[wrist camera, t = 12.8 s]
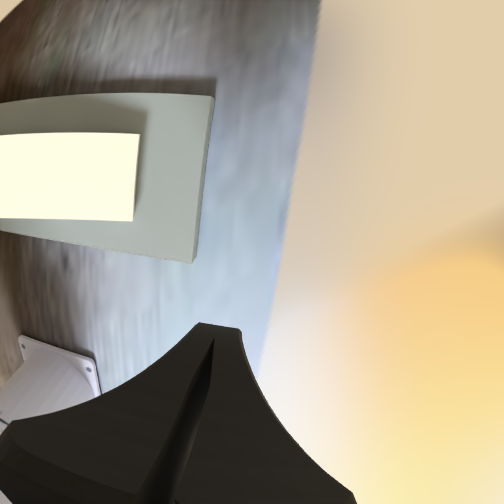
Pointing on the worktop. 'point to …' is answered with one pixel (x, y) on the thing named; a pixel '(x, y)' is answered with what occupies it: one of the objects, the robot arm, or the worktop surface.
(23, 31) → the worktop surface
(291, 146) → the worktop surface
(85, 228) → the board
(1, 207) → the head domino
